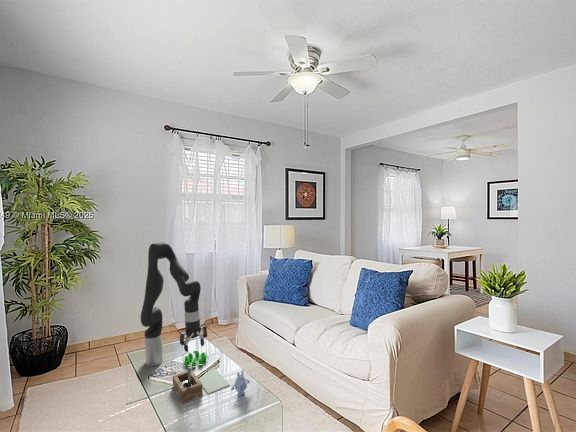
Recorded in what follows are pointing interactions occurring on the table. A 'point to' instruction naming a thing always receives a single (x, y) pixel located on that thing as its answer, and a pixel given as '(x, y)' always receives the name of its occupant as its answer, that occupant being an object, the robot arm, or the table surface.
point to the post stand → (189, 376)
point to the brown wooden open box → (190, 391)
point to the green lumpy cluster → (195, 358)
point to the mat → (213, 381)
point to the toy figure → (240, 384)
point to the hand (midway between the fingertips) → (194, 348)
